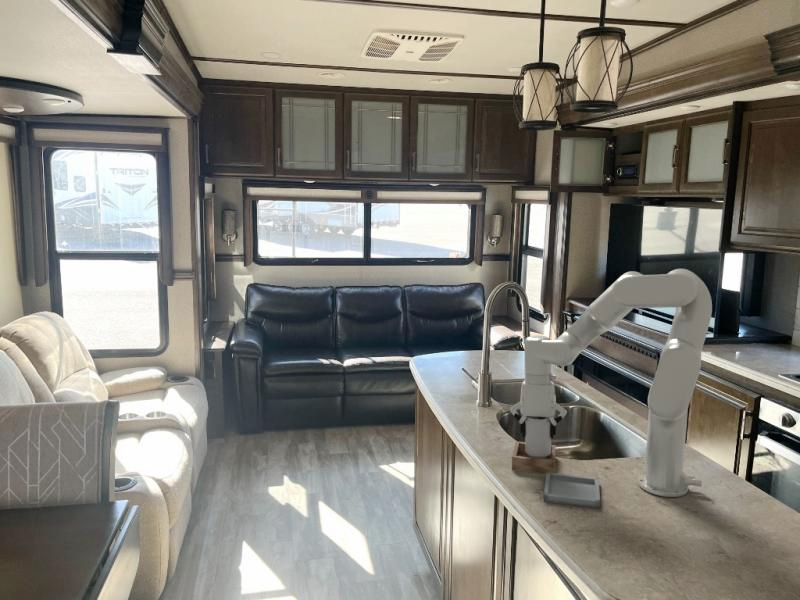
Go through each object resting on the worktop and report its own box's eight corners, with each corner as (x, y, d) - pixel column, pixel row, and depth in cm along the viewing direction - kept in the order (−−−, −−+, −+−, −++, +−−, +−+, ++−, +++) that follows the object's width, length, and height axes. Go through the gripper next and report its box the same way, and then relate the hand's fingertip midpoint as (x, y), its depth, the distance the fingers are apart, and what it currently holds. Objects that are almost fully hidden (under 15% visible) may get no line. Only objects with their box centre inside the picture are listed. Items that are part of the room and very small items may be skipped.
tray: (598, 484, 172) (598, 478, 172) (599, 508, 159) (600, 501, 158) (546, 478, 176) (546, 472, 175) (543, 501, 162) (543, 494, 162)
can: (551, 460, 180) (551, 420, 178) (525, 458, 181) (524, 419, 180) (550, 450, 187) (550, 411, 185) (525, 449, 189) (525, 411, 187)
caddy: (555, 457, 189) (555, 445, 189) (554, 474, 178) (554, 461, 177) (515, 453, 193) (516, 441, 192) (511, 469, 181) (512, 456, 181)
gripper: (568, 376, 182) (568, 433, 185) (509, 373, 187) (509, 429, 189) (568, 383, 175) (568, 442, 178) (506, 380, 180) (507, 438, 182)
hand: (538, 435), depth 183 cm, fingers closed on can, 7 cm apart
